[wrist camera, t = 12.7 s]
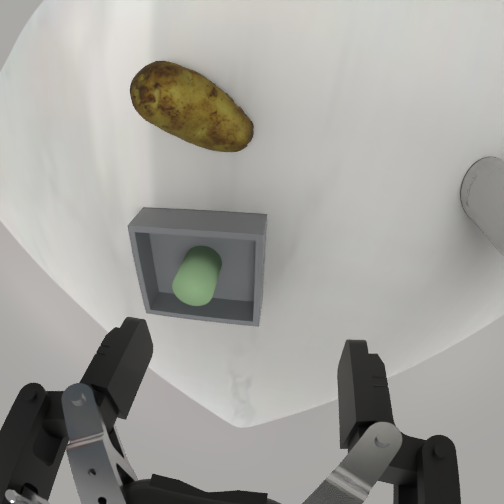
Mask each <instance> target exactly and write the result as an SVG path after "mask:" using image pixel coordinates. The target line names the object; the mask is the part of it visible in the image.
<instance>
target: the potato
mask: <svg viewBox="0 0 504 504" xmlns="http://www.w3.org/2000/svg"><path fill="white" fill-rule="evenodd" d="M130 95H131V100H132V104H133V106H134V108H135V109H136V111H137V112H138V113H139V114H140V115H141V116H142V118H144V119H145V120H146V121H148V122H150V123H151V124H154V125H155V126H157V127H159V128H161V129H162V130H164V131H166V132H168V133H170V134H172V135H175V136H177V137H179V138H181V139H183V140H185V141H187V142H189V143H192V144H195V145H197V146H200V147H203V148H206V149H210V150H214V151H223V152H236V151H240V150H242V149H243V148H245V147H246V146H247V144H248V143H249V142H250V141H251V140H252V138H253V128H254V127H253V123H252V121H251V120H250V119H249V118H248V117H247V115H246V114H245V113H244V111H243V110H242V109H241V108H240V107H238V106H237V105H236V104H235V103H234V101H233V99H232V98H230V97H229V96H228V94H227V93H224V92H223V91H222V90H221V89H220V88H218V87H217V86H216V85H215V84H214V83H212V82H211V81H209V80H208V79H207V78H205V77H204V76H203V75H201V74H199V73H197V72H195V71H193V70H190V69H187V68H185V67H182V66H180V65H178V64H175V63H171V62H167V61H155V62H153V63H151V64H149V65H147V66H145V67H144V68H143V69H141V70H140V71H139V72H138V73H137V74H136V76H135V77H134V78H133V80H132V83H131V86H130Z"/></svg>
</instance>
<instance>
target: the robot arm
mask: <svg viewBox="0 0 504 504" xmlns="http://www.w3.org/2000/svg"><path fill="white" fill-rule="evenodd" d="M461 201H462V206H463V208H464V210H465V212H466V213H467V215H468V216H469V217H470V218H471V219H472V220H473V221H474V222H475V224H476V225H477V226H478V227H479V228H480V229H481V230H482V232H483V233H484V234H485V235H486V236H487V237H488V238H489V240H490V241H491V242H492V243H493V244H494V246H495V247H496V248H497V249H498V250H499V252H500V253H501V254H502V255H503V257H504V161H502V160H500V159H498V158H495V157H487V158H483V159H481V160H479V161H478V162H476V163H475V164H474V165H473V166H472V167H471V168H470V169H469V171H468V172H467V174H466V176H465V178H464V181H463V184H462V188H461ZM152 354H153V343H152V340H151V336H150V333H149V330H148V326H147V323H146V321H145V320H144V319H138V318H132V317H127V318H126V319H125V320H124V322H123V324H122V325H121V327H120V328H117V327H115V328H114V329H113V330H111V331H110V332H109V333H108V334H107V335H106V336H105V338H104V340H103V341H102V343H101V346H100V347H99V348H98V350H97V354H95V356H94V357H93V359H92V361H91V363H90V365H89V366H88V368H87V370H86V372H85V374H84V376H83V378H82V379H81V381H80V383H76V384H73V385H71V386H69V387H68V388H67V389H66V390H65V391H45V389H44V388H43V387H42V386H41V385H40V384H38V383H30V384H27V385H25V386H24V387H23V388H22V389H21V390H20V392H19V394H18V396H17V398H16V400H15V402H14V404H13V406H12V408H11V410H10V412H9V414H8V416H7V418H6V420H5V422H4V424H3V426H2V428H1V430H0V504H49V502H48V499H49V496H50V493H51V490H52V486H53V484H54V481H55V477H56V475H57V472H58V469H59V466H60V463H61V460H62V458H63V455H64V452H65V450H66V451H67V455H68V459H69V463H70V467H71V471H72V474H73V478H74V481H75V484H76V488H77V491H78V494H79V497H80V500H81V503H82V504H280V503H278V502H276V501H274V500H271V499H268V498H267V495H268V494H267V493H258V492H248V491H240V490H237V491H224V492H204V491H202V490H200V489H197V488H195V487H193V486H191V485H189V484H186V483H184V482H182V481H180V480H176V479H172V478H168V477H164V476H159V475H156V474H152V478H151V479H144V480H138V478H137V476H136V474H135V472H134V470H133V469H132V467H131V465H130V464H129V461H128V459H127V457H126V454H125V451H124V449H123V446H122V443H121V441H120V438H119V435H118V432H117V429H116V426H115V424H114V423H115V421H116V418H117V417H118V418H122V419H126V418H127V416H128V413H129V411H130V408H131V406H132V403H133V401H134V398H135V396H136V393H137V391H138V389H139V386H140V384H141V381H142V379H143V377H144V374H145V372H146V369H147V367H148V365H149V362H150V360H151V358H152ZM337 379H338V398H339V423H340V449H348V455H347V456H346V457H345V458H344V459H343V461H342V462H341V463H340V464H339V465H338V467H337V468H336V469H335V470H334V471H332V473H331V474H330V475H329V476H328V477H327V478H326V479H325V480H324V481H323V482H322V483H321V484H320V486H319V487H318V488H317V489H316V490H315V491H314V492H313V493H312V494H311V495H310V496H309V497H308V498H307V499H306V500H305V502H303V503H302V504H362V503H363V502H364V501H365V499H366V498H367V496H368V494H369V492H370V490H371V489H372V487H373V486H374V485H375V483H376V482H377V481H382V482H386V483H391V484H394V504H461V497H460V484H459V474H458V464H457V456H456V449H455V446H454V444H453V442H452V441H451V440H450V439H449V438H448V437H446V436H443V435H435V436H432V437H430V438H429V439H427V440H423V439H418V438H414V437H410V436H407V435H405V434H403V433H402V432H400V430H399V429H398V428H397V427H396V426H395V424H394V420H393V415H392V408H391V401H390V395H389V389H388V383H387V378H386V371H385V366H384V363H383V362H382V360H381V359H380V357H379V356H378V354H368V347H367V342H366V340H346V342H345V346H344V349H343V352H342V355H341V359H340V362H339V366H338V375H337ZM69 440H70V444H68V441H69ZM67 444H68V445H67Z"/></svg>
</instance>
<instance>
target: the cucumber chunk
mask: <svg viewBox="0 0 504 504" xmlns="http://www.w3.org/2000/svg"><path fill="white" fill-rule="evenodd" d="M221 268H222V259H221V257H220V255H219V254H218V253H217V252H216V251H215V250H214V249H212V248H210V247H208V246H201V245H200V246H195V247H193V248H191V249H190V250H189V251H188V252H187V254H186V256H185V258H184V260H183V262H182V264H181V266H180V268H179V270H178V272H177V274H176V276H175V279H174V281H173V284H172V288H173V292H174V294H175V295H176V296H177V298H178V299H180V300H181V301H182V302H184V303H186V304H188V305H192V306H202V305H205V304H207V303H208V302H209V301H210V300H211V299H212V297H213V293H214V290H215V287H216V284H217V281H218V277H219V274H220V271H221Z"/></svg>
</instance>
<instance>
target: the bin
mask: <svg viewBox="0 0 504 504" xmlns="http://www.w3.org/2000/svg"><path fill="white" fill-rule="evenodd" d="M266 221H267V214H252V213H238V212H222V211H204V210H186V209H165V208H143V209H142V210H141V211H140V212H139V213H138V214H137V216H136V217H135V218H134V219H133V220H132V221H131V223H130V224H129V225H128V230H129V236H130V241H131V247H132V252H133V257H134V262H135V266H136V271H137V276H138V280H139V285H140V289H141V293H142V298H143V302H144V306H145V310H146V313H149V314H156V315H163V316H170V317H177V318H185V319H193V320H201V321H210V322H219V323H228V324H238V325H249V326H259V322H260V314H261V306H262V294H263V276H264V258H265V240H266ZM200 245H201V246H208V247H210V248H212V249H214V250H215V251H216V252H217V253H218V254H219V255H220V257H221V259H222V268H221V271H220V274H219V277H218V281H217V284H216V287H215V290H214V293H213V297H212V299H211V300H210V301H209V302H208V303H207V304H205V305H202V306H192V305H188V304H186V303H184V302H182V301H181V300H180V299H178V298H177V296H176V295H175V294H174V292H173V288H172V284H173V281H174V279H175V276H176V274H177V272H178V270H179V268H180V266H181V264H182V262H183V260H184V258H185V256H186V254H187V252H188V251H189V250H190V249H191V248H193V247H195V246H200Z"/></svg>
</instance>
